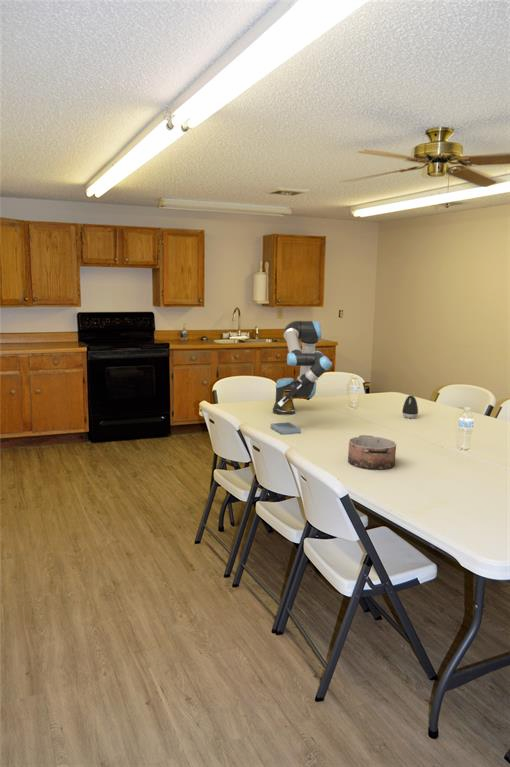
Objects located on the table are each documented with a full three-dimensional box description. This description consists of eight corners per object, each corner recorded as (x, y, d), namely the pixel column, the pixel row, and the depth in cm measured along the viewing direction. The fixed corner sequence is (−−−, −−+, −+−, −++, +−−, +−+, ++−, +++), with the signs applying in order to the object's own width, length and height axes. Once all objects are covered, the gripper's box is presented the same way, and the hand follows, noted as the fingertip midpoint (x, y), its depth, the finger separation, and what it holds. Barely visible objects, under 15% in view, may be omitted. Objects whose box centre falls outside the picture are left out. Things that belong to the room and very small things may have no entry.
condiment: (295, 410, 339) (295, 390, 337) (283, 412, 334) (284, 391, 332) (287, 408, 345) (288, 388, 343) (276, 409, 340) (276, 389, 338)
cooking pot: (342, 454, 295) (343, 434, 294) (386, 455, 296) (387, 434, 294) (354, 472, 266) (355, 450, 264) (402, 473, 267) (404, 450, 265)
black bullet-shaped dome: (416, 416, 391) (417, 394, 389) (418, 419, 381) (420, 397, 379) (400, 415, 392) (402, 393, 390) (403, 419, 382) (404, 396, 380)
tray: (288, 427, 352) (288, 422, 351) (300, 433, 337) (300, 428, 336) (270, 428, 347) (270, 423, 347) (281, 434, 332) (281, 429, 332)
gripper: (311, 385, 325) (281, 411, 331) (315, 380, 343) (287, 405, 349) (302, 375, 325) (272, 401, 331) (306, 370, 343) (278, 396, 349)
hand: (280, 403), depth 340 cm, fingers closed on condiment, 6 cm apart
